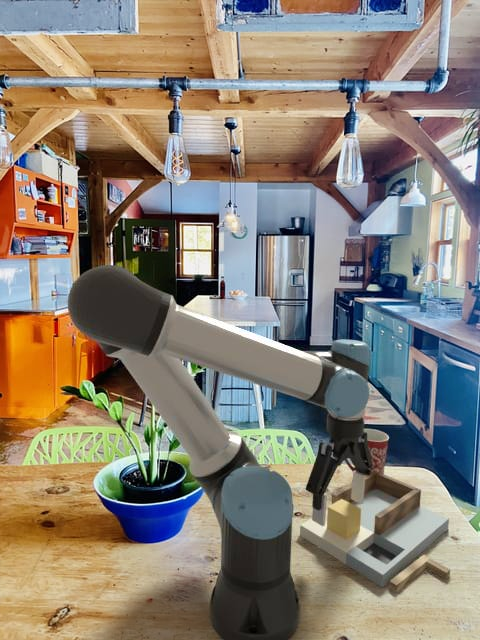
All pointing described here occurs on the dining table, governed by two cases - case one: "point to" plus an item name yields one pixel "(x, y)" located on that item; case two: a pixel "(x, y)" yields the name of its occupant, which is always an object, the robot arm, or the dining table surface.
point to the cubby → (388, 485)
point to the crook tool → (416, 569)
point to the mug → (375, 449)
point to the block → (343, 518)
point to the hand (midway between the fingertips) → (338, 511)
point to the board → (379, 538)
